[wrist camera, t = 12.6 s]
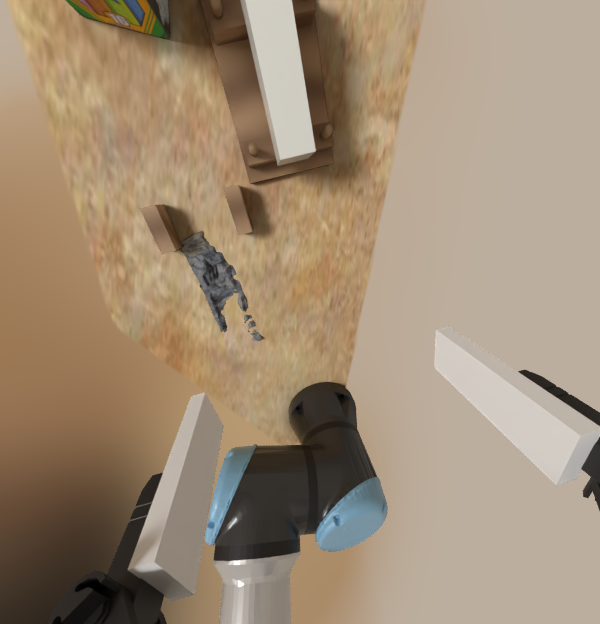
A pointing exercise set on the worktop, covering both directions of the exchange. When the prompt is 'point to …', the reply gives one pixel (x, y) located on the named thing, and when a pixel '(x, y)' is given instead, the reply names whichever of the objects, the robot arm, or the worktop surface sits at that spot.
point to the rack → (247, 95)
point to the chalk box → (128, 14)
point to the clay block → (280, 77)
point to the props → (165, 229)
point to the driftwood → (215, 278)
